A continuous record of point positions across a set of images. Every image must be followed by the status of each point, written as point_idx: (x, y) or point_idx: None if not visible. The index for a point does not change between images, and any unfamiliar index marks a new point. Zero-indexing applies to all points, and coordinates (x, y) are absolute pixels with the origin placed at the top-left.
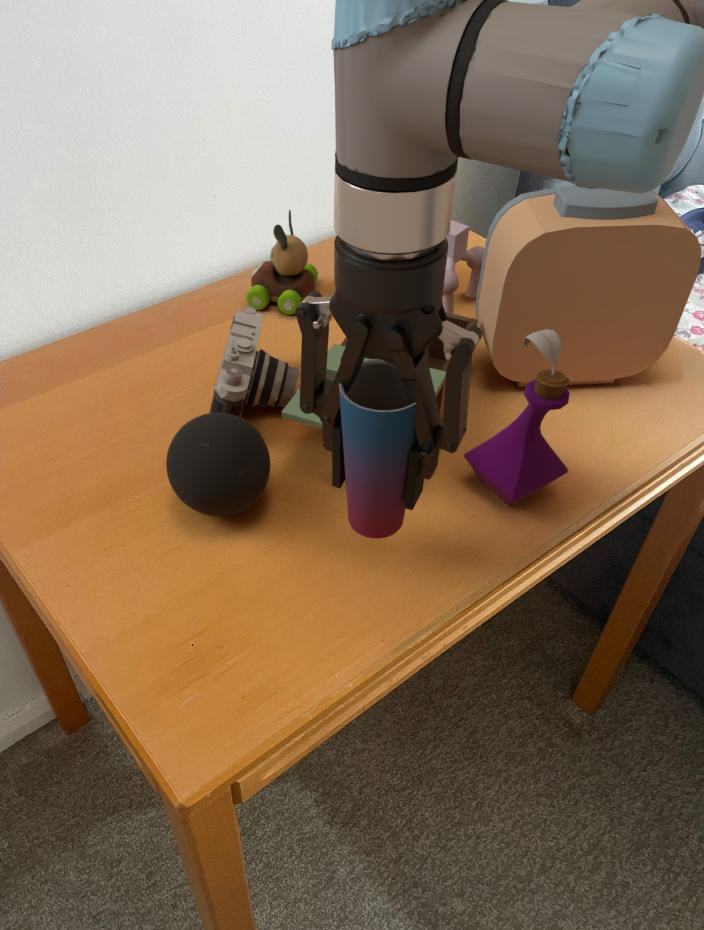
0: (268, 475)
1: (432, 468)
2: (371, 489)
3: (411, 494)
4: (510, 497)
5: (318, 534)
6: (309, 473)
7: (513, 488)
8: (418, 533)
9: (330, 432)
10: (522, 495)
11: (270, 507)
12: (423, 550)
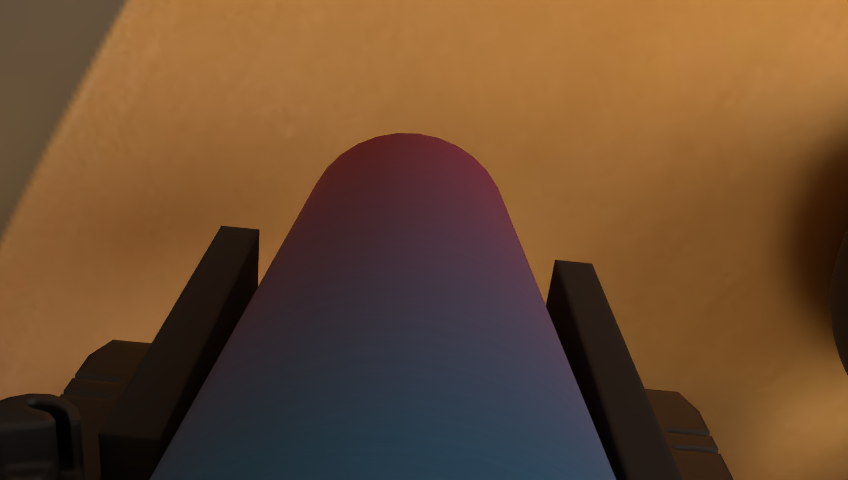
0: (842, 313)
1: (73, 385)
2: (384, 225)
3: (210, 267)
4: None
5: (598, 183)
6: None
7: None
8: None
9: (683, 476)
10: None
11: (777, 245)
12: (267, 215)
